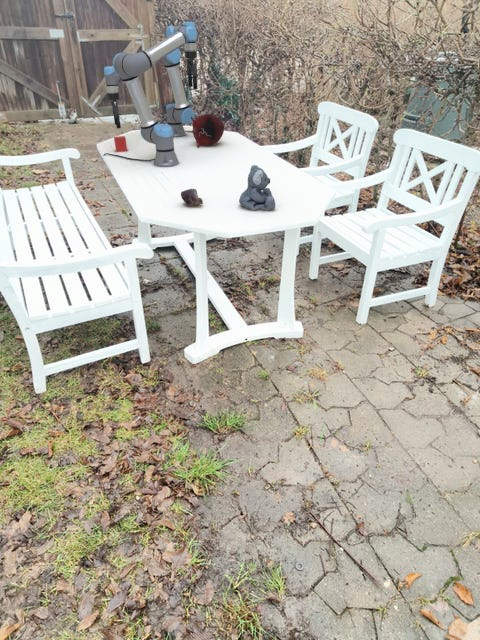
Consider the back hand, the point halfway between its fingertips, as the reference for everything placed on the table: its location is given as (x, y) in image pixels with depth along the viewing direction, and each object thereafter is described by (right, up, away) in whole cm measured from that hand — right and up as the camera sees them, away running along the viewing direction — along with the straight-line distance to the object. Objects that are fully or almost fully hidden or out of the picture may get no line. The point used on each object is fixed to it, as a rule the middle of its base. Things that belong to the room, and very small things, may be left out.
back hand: (117, 126), depth 315 cm
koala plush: (+94, -78, -86) cm, 149 cm away
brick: (0, -14, +8) cm, 16 cm away
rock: (+61, -77, -84) cm, 129 cm away
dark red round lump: (+62, -4, +22) cm, 66 cm away
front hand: (+55, +18, -17) cm, 60 cm away
